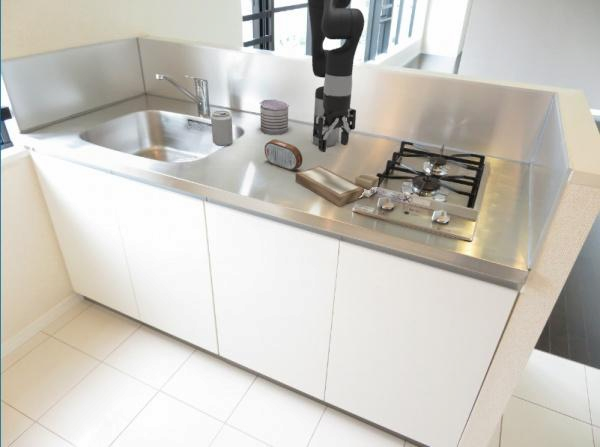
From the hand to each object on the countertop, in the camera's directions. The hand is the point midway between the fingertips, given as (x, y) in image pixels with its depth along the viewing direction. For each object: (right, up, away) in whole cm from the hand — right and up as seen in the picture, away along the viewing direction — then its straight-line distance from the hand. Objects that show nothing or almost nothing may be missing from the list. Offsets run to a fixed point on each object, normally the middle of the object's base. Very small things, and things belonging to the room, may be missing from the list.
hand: (333, 147), depth 121 cm
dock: (-1, -11, +7) cm, 13 cm away
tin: (-16, -3, +21) cm, 26 cm away
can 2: (-20, +15, +50) cm, 56 cm away
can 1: (-39, +8, +37) cm, 54 cm away
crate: (+10, -13, +6) cm, 17 cm away
